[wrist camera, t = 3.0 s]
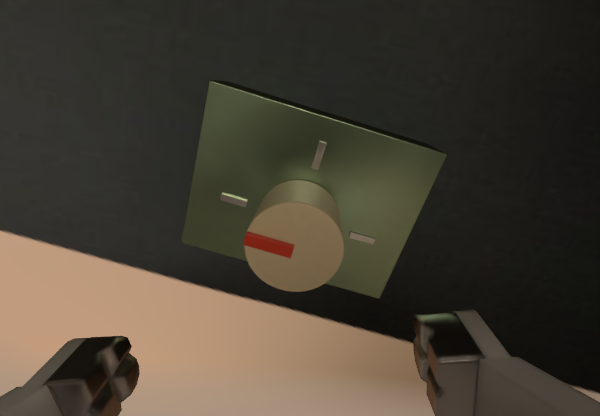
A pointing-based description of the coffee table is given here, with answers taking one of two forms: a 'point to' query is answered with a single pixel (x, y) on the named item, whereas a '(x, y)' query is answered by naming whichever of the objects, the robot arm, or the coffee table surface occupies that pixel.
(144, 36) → the coffee table surface
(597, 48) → the coffee table surface
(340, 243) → the knob
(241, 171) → the panel
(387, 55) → the coffee table surface
